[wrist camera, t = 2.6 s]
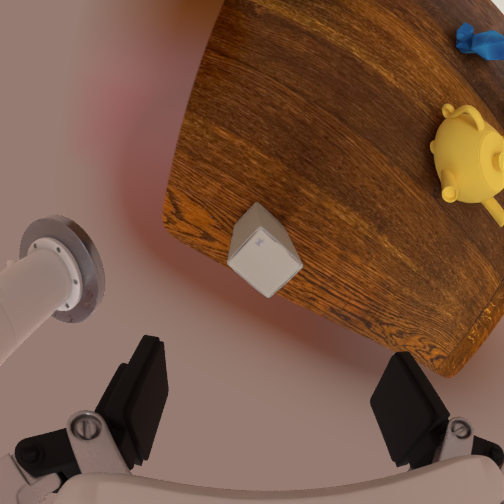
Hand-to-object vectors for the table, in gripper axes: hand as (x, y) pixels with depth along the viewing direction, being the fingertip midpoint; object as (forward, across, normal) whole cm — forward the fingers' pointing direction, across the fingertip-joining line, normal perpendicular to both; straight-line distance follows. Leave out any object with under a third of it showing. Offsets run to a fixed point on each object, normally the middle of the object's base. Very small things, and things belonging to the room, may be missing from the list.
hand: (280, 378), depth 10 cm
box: (+26, 0, 0) cm, 26 cm away
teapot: (+26, -27, -13) cm, 40 cm away
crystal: (+26, -31, -36) cm, 54 cm away
